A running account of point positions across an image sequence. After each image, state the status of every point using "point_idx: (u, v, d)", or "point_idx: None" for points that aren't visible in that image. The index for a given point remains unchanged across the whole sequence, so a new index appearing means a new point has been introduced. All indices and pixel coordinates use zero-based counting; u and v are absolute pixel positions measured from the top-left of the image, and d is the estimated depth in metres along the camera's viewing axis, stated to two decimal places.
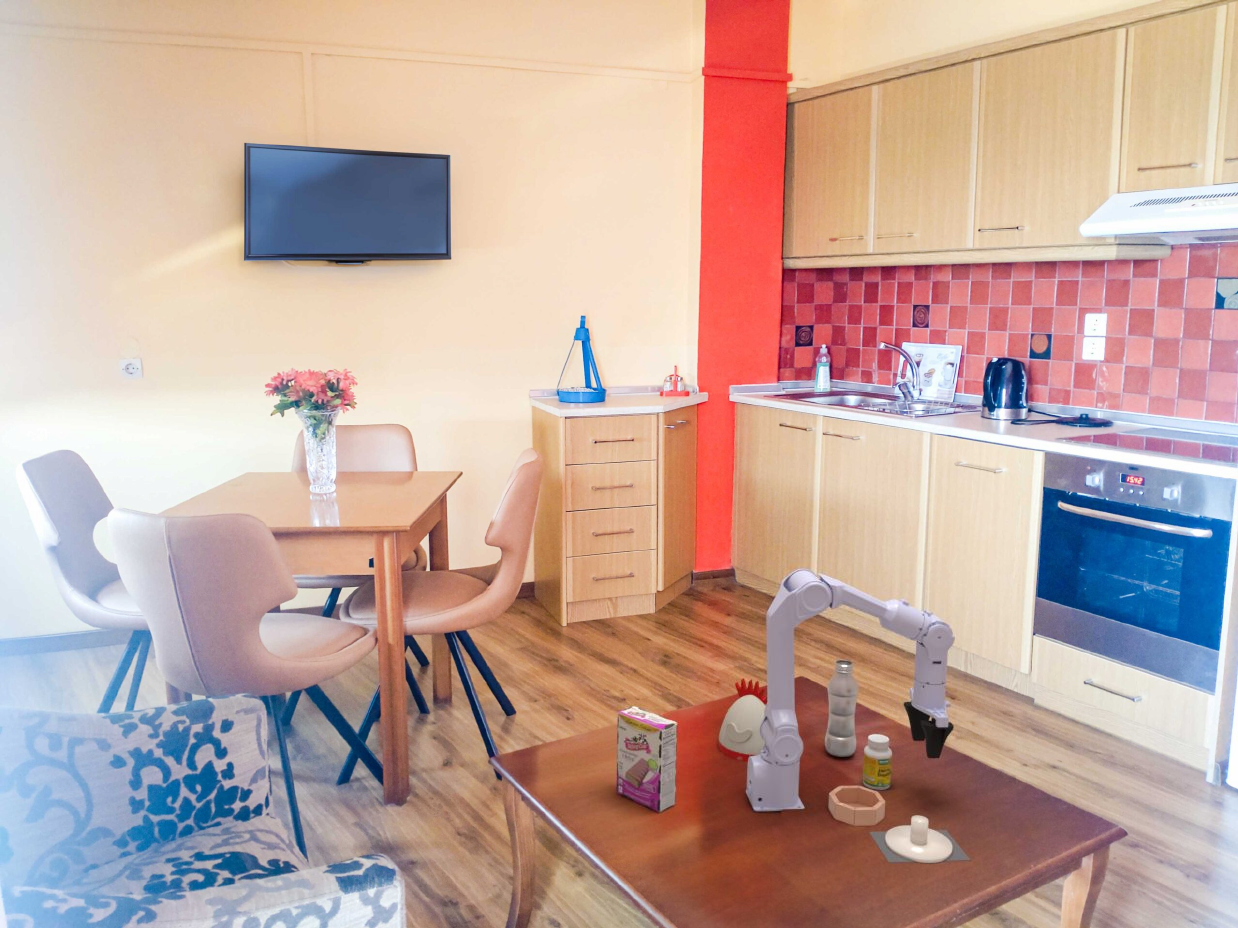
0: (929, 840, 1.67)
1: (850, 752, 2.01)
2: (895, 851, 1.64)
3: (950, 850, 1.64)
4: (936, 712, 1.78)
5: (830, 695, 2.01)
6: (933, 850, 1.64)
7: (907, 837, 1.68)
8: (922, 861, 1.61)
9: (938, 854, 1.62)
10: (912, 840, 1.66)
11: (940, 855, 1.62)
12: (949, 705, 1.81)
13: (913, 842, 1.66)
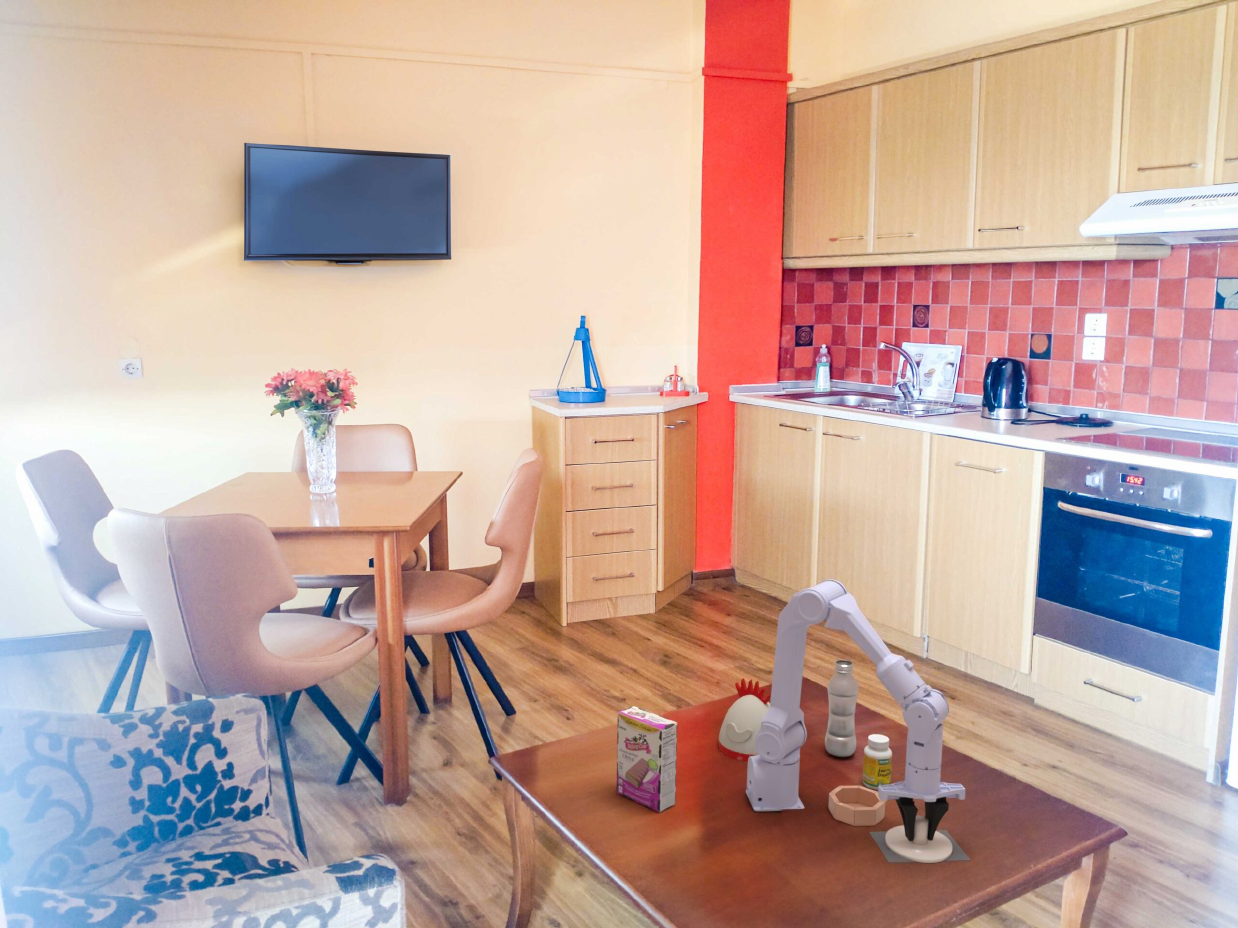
0: None
1: (850, 752, 2.01)
2: (895, 851, 1.64)
3: (950, 850, 1.64)
4: (894, 787, 1.65)
5: (830, 695, 2.01)
6: (933, 850, 1.64)
7: None
8: (922, 861, 1.61)
9: (938, 854, 1.62)
10: None
11: (940, 855, 1.62)
12: (924, 799, 1.62)
13: (913, 842, 1.66)
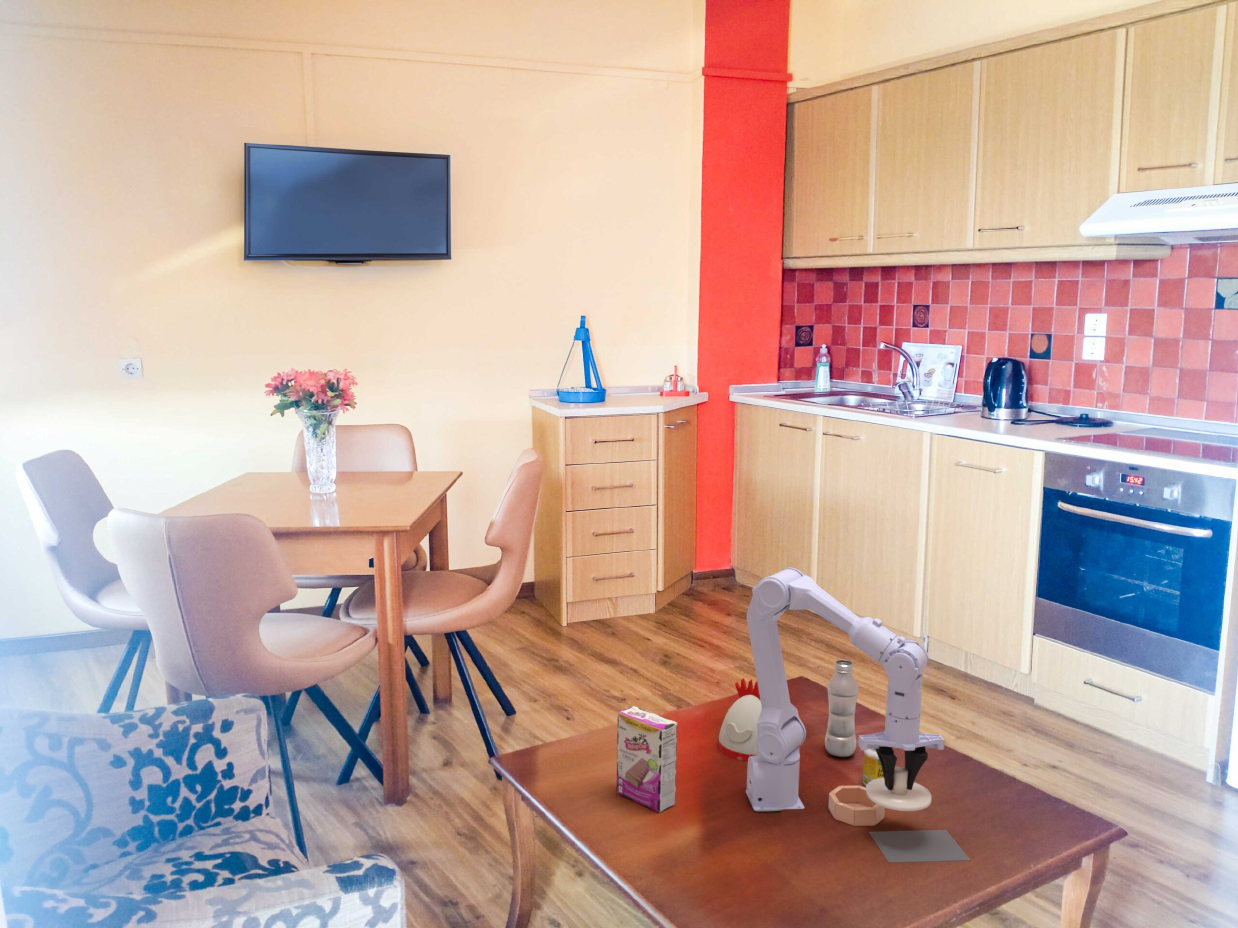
0: (908, 790, 1.70)
1: (850, 752, 2.01)
2: (875, 800, 1.67)
3: (929, 799, 1.67)
4: (874, 737, 1.68)
5: (830, 695, 2.01)
6: (913, 799, 1.66)
7: None
8: (902, 809, 1.64)
9: (917, 803, 1.65)
10: (892, 790, 1.69)
11: (920, 804, 1.65)
12: (903, 747, 1.65)
13: (893, 792, 1.69)
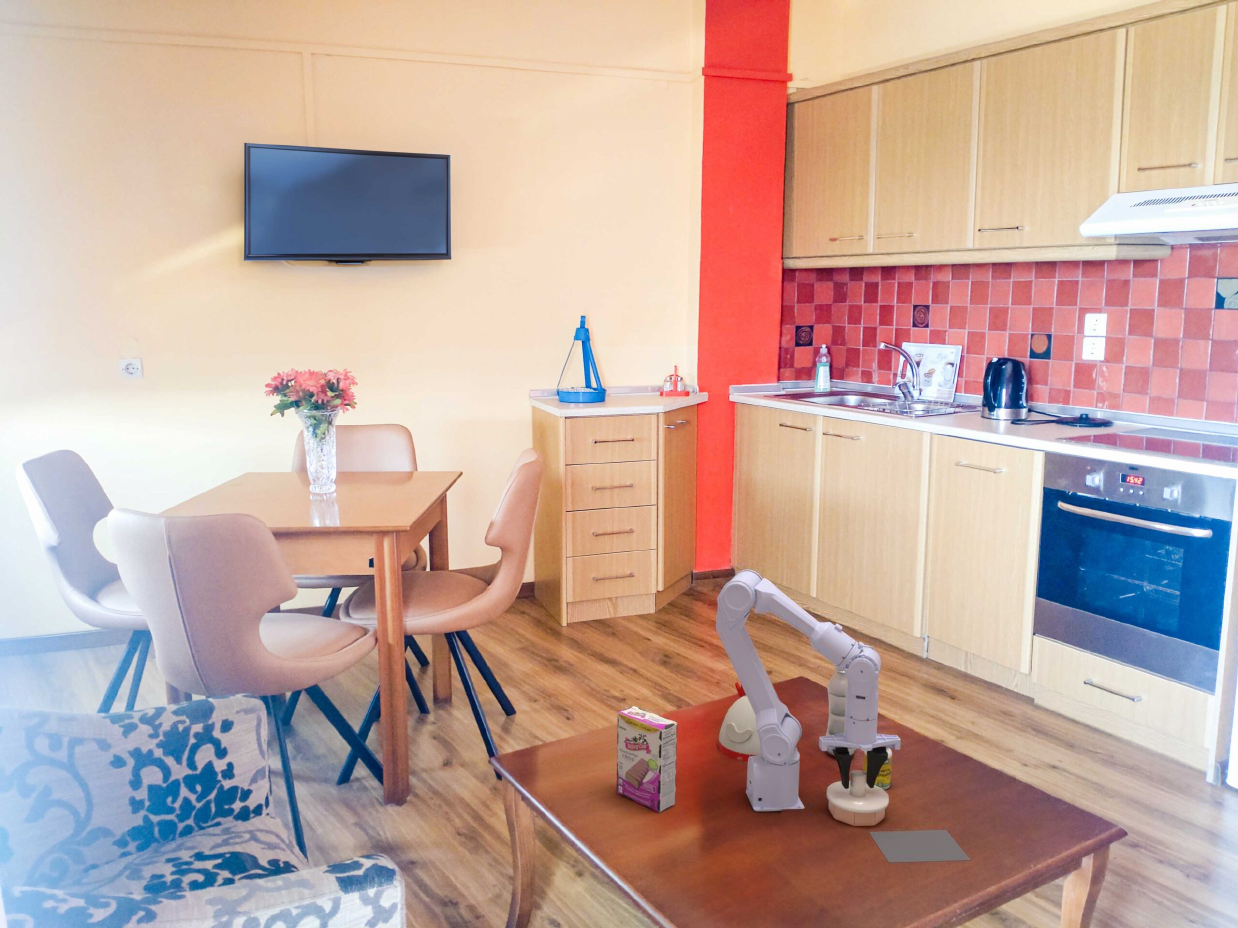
0: (867, 792, 1.78)
1: (850, 752, 2.01)
2: (836, 803, 1.74)
3: (887, 800, 1.75)
4: None
5: (830, 695, 2.01)
6: (871, 801, 1.74)
7: (847, 791, 1.78)
8: (862, 811, 1.72)
9: (876, 804, 1.73)
10: (852, 793, 1.76)
11: (878, 805, 1.73)
12: (861, 748, 1.72)
13: (853, 795, 1.76)
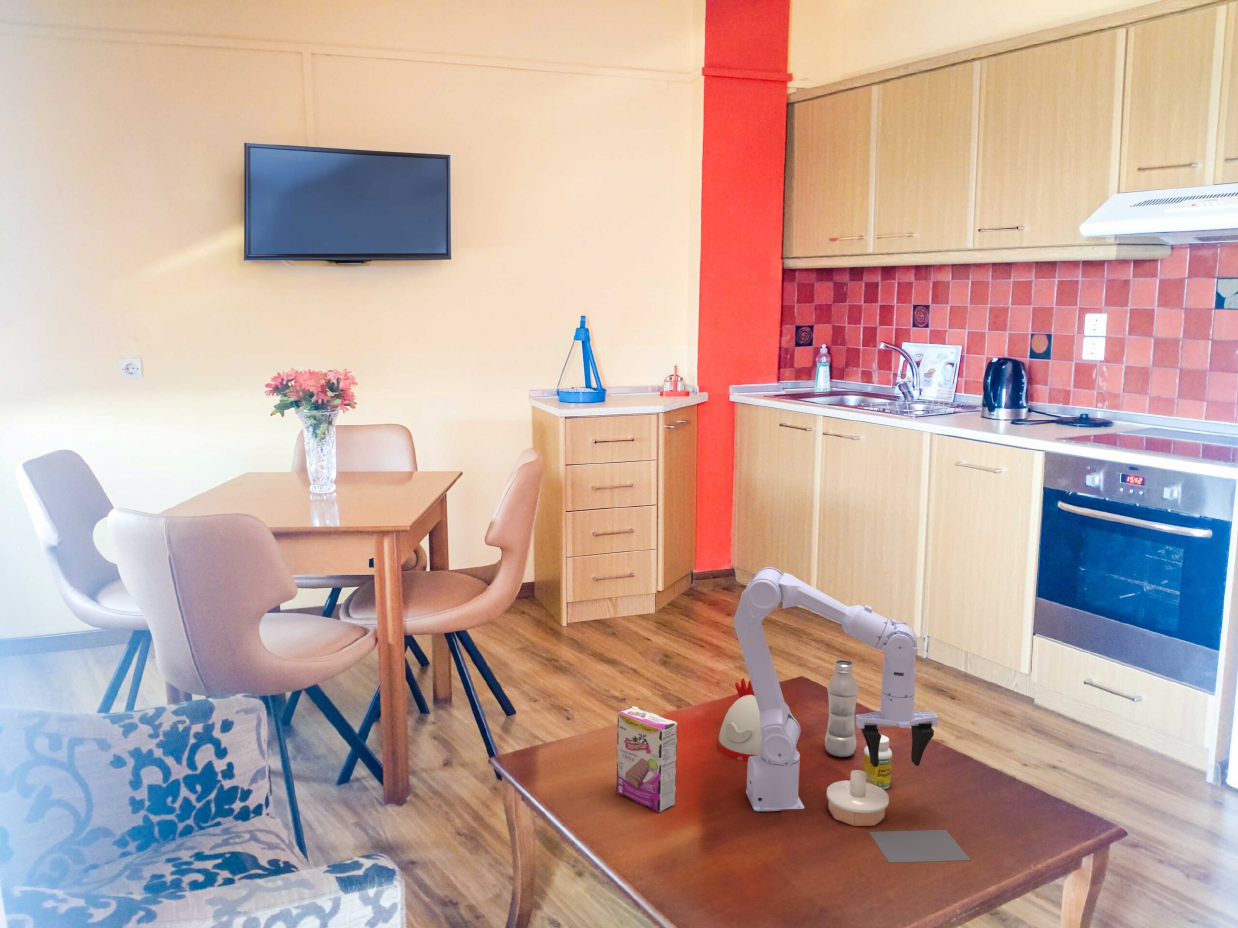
0: (867, 792, 1.78)
1: (850, 752, 2.01)
2: (836, 803, 1.74)
3: (887, 800, 1.75)
4: (870, 716, 1.75)
5: (830, 695, 2.01)
6: (871, 801, 1.74)
7: (847, 791, 1.78)
8: (862, 811, 1.72)
9: (876, 804, 1.73)
10: (852, 793, 1.76)
11: (878, 805, 1.73)
12: (898, 725, 1.71)
13: (853, 795, 1.76)
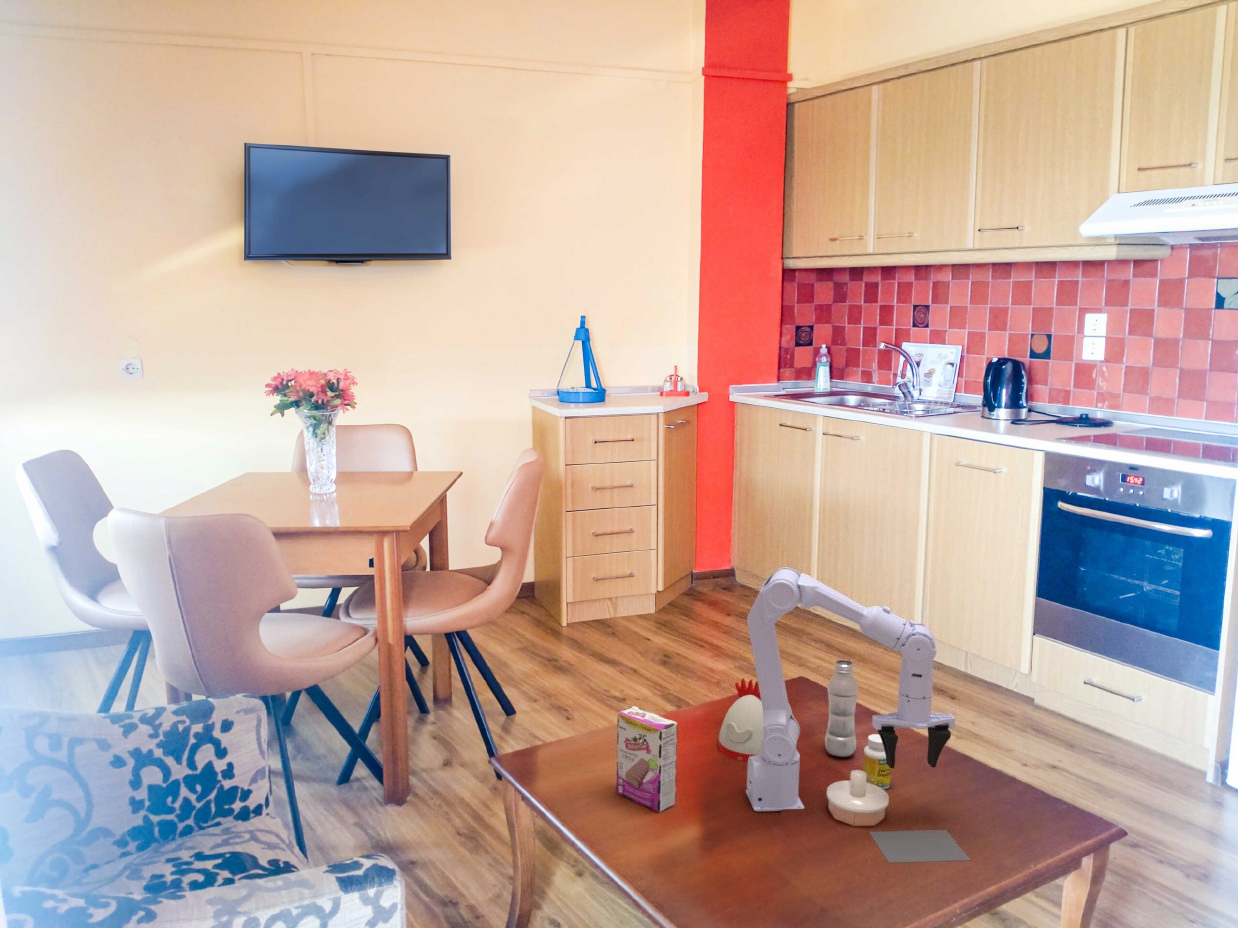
0: (867, 792, 1.78)
1: (850, 752, 2.01)
2: (836, 803, 1.74)
3: (887, 800, 1.75)
4: (887, 717, 1.74)
5: (830, 695, 2.01)
6: (871, 801, 1.74)
7: (847, 791, 1.78)
8: (862, 811, 1.72)
9: (876, 804, 1.73)
10: (852, 793, 1.76)
11: (878, 805, 1.73)
12: (916, 726, 1.71)
13: (853, 795, 1.76)
